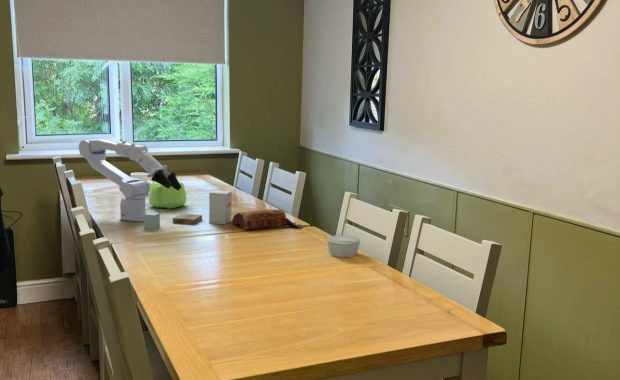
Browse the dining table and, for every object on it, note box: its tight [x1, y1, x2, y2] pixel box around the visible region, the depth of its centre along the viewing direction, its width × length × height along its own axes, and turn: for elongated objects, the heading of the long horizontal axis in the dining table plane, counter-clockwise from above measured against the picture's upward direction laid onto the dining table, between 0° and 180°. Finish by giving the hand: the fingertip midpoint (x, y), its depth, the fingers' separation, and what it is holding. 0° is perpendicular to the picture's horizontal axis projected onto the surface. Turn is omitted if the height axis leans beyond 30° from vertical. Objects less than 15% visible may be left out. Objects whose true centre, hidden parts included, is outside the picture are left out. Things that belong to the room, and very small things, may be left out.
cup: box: [130, 171, 154, 183], centre depth 303 cm, size 8×12×10 cm
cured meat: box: [231, 209, 303, 231], centre depth 239 cm, size 18×25×7 cm
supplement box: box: [208, 189, 233, 225], centre depth 242 cm, size 7×7×13 cm
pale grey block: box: [143, 211, 161, 230], centre depth 230 cm, size 4×4×6 cm
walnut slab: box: [172, 213, 203, 225], centre depth 243 cm, size 9×9×2 cm
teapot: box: [148, 180, 187, 210], centre depth 271 cm, size 18×20×13 cm
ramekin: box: [326, 234, 361, 258], centre depth 201 cm, size 11×11×5 cm
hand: (174, 187), depth 232 cm, fingers open, 7 cm apart
